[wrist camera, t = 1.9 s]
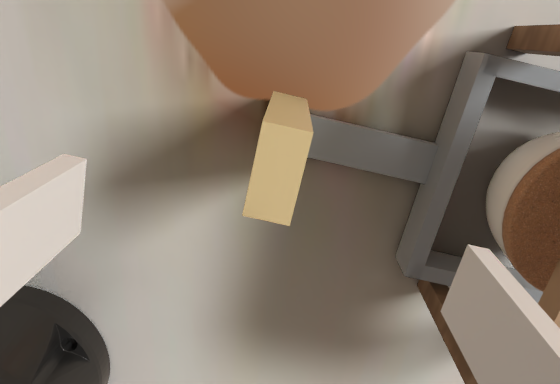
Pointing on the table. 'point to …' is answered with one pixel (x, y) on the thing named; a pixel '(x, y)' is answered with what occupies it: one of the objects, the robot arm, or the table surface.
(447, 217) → the table surface
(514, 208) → the lidded jar
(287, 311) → the table surface
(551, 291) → the tunnel
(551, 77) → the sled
